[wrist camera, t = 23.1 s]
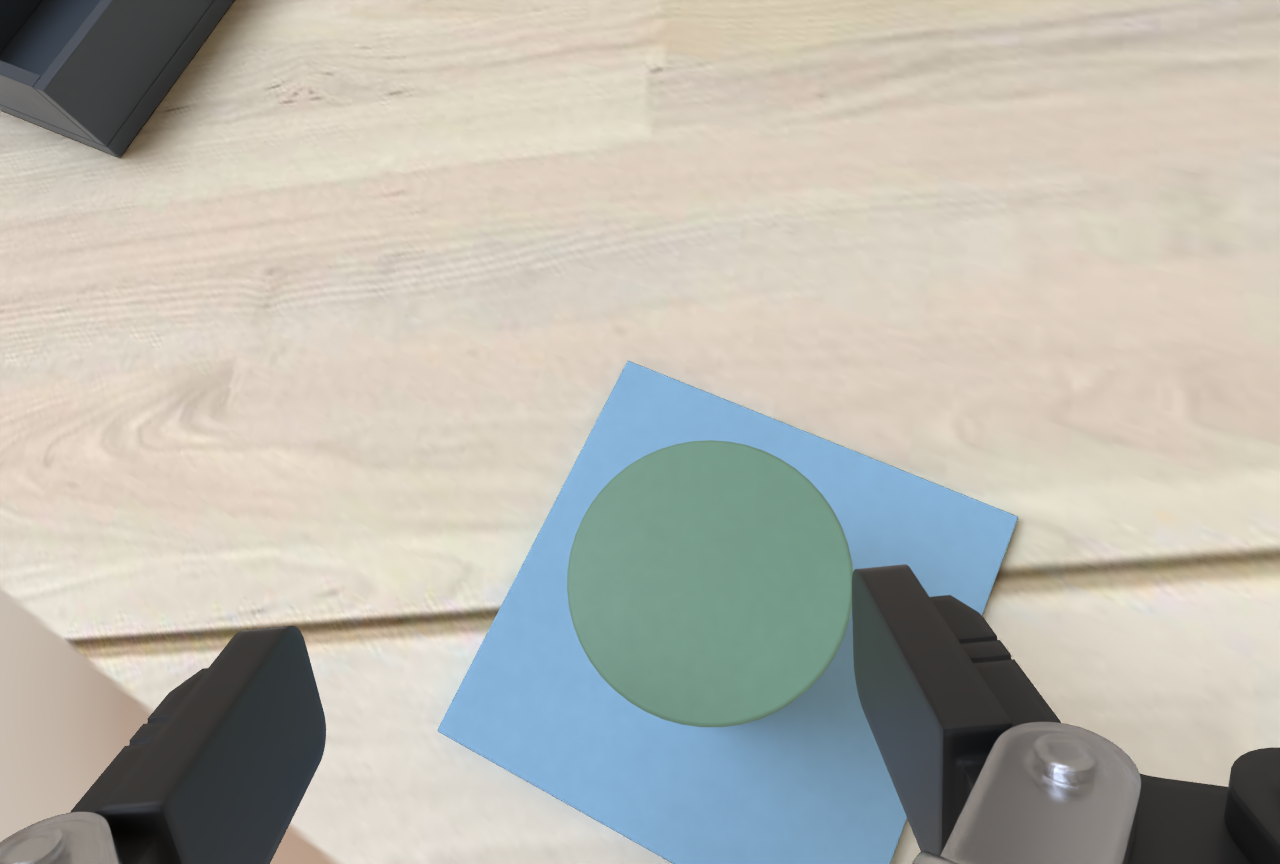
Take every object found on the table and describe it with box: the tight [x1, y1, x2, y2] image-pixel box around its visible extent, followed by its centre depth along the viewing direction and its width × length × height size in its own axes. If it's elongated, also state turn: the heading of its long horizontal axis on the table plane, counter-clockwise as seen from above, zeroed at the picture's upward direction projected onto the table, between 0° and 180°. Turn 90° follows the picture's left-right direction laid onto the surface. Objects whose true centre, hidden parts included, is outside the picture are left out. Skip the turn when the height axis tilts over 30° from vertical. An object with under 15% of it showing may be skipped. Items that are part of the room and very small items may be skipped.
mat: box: [438, 361, 1018, 864], centre depth 27 cm, size 14×14×1 cm
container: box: [567, 440, 853, 727], centre depth 22 cm, size 6×6×10 cm
